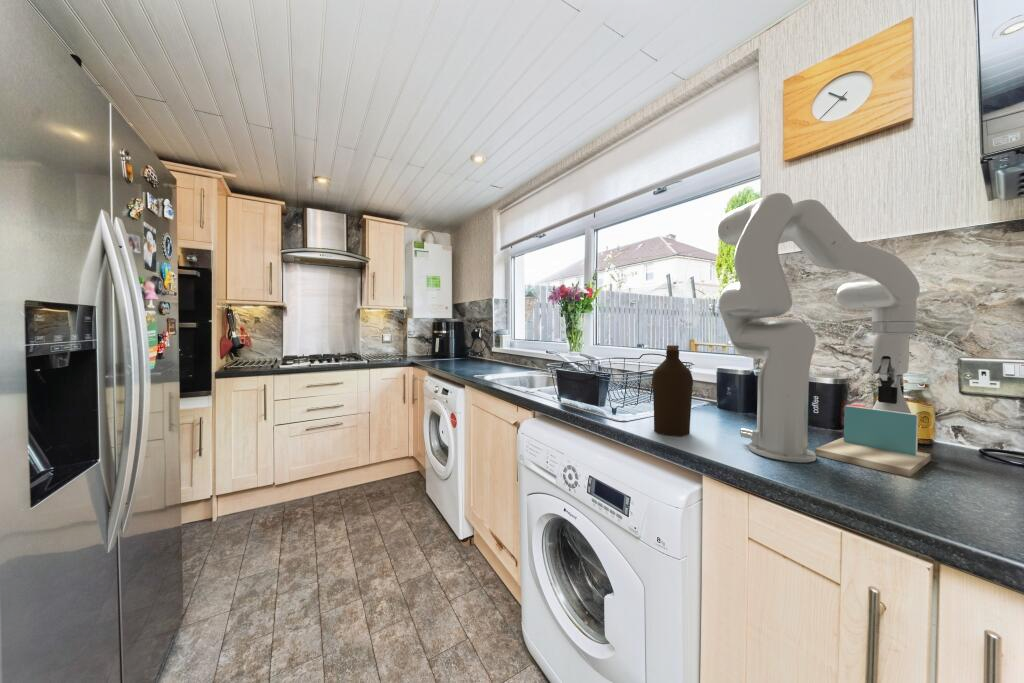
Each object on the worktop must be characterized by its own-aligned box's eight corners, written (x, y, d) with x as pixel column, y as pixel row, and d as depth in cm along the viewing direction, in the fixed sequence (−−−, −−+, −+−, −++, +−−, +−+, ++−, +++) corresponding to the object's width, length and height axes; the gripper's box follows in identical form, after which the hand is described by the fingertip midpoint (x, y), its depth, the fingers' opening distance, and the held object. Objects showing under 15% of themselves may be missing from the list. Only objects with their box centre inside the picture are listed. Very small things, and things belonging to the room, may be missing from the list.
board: (814, 455, 83) (815, 448, 83) (842, 443, 92) (842, 437, 92) (909, 477, 70) (909, 469, 70) (930, 460, 80) (930, 453, 80)
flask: (874, 410, 94) (875, 373, 94) (915, 416, 88) (916, 375, 88) (867, 413, 90) (868, 374, 89) (910, 419, 84) (911, 377, 84)
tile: (843, 441, 89) (844, 405, 88) (846, 440, 89) (846, 405, 89) (915, 455, 78) (916, 415, 78) (917, 454, 79) (918, 414, 79)
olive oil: (667, 438, 96) (668, 346, 96) (644, 428, 106) (645, 345, 106) (700, 435, 98) (702, 346, 98) (675, 426, 109) (676, 344, 108)
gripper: (881, 330, 96) (879, 396, 96) (861, 328, 87) (858, 402, 88) (923, 329, 90) (921, 401, 90) (906, 328, 81) (903, 407, 81)
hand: (890, 401), depth 89 cm, fingers closed on flask, 4 cm apart
